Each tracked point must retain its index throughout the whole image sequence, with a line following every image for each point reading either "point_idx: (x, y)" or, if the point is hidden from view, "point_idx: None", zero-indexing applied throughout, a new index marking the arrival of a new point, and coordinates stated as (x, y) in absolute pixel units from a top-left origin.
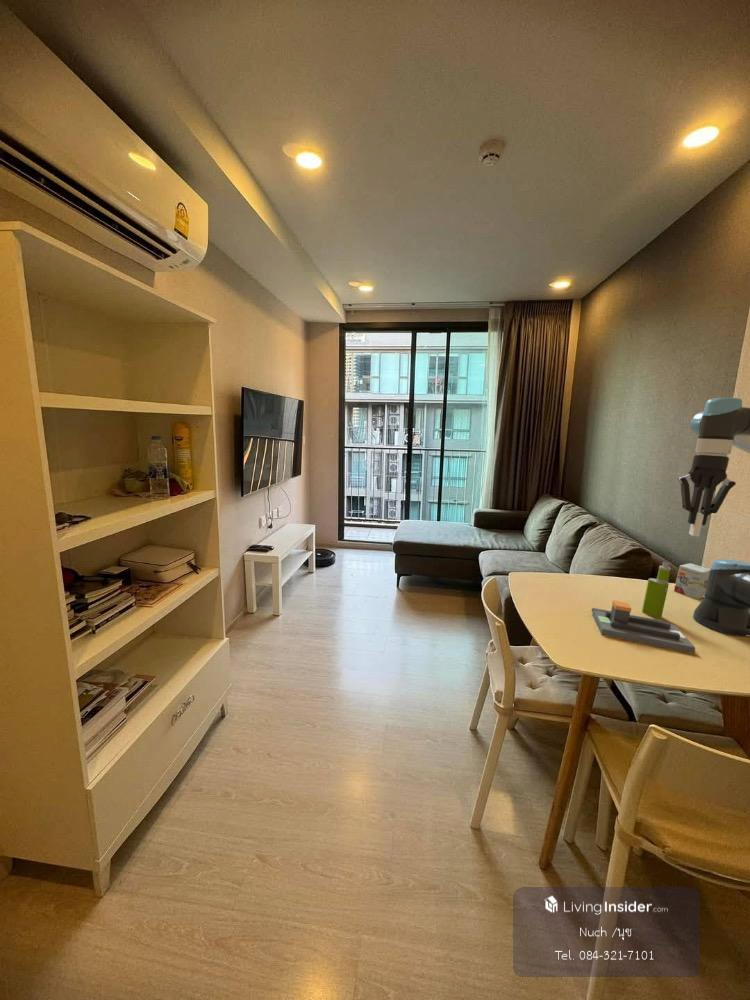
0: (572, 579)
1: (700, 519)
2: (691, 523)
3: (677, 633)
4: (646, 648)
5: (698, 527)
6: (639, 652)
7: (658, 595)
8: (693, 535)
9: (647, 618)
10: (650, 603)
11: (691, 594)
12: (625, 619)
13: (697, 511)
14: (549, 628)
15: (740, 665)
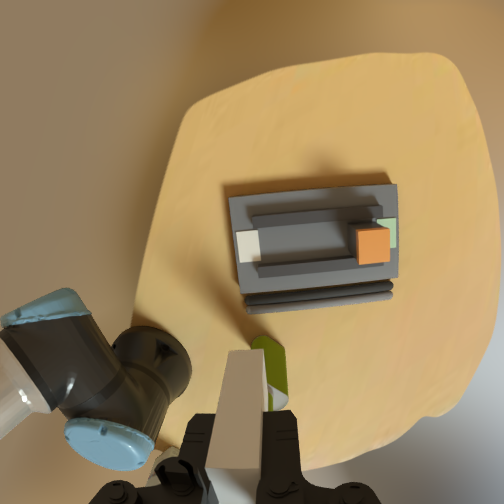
0: (382, 428)
1: (229, 434)
2: (282, 413)
3: (254, 225)
4: (317, 167)
5: (237, 387)
6: (333, 141)
7: (266, 364)
8: (260, 350)
9: (288, 306)
10: (276, 356)
11: (178, 453)
12: (357, 225)
13: (263, 491)
14: (470, 161)
15: (160, 196)
